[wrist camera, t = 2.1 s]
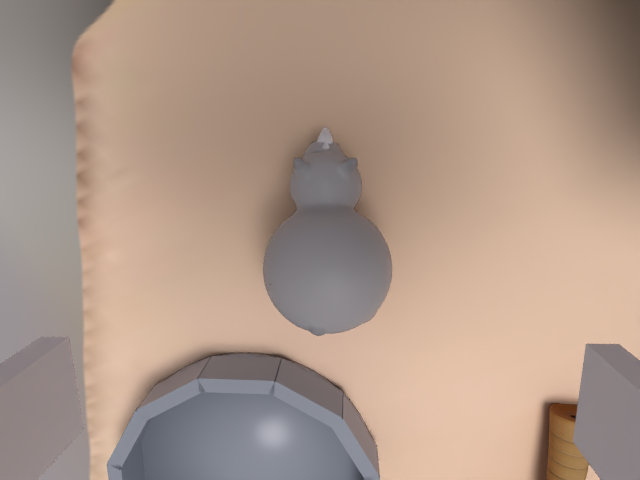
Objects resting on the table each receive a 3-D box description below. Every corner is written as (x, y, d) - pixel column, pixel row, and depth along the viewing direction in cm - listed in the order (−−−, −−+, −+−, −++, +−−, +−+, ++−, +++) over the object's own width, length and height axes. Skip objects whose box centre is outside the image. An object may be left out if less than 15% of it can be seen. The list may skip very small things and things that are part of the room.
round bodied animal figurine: (382, 156, 31) (398, 99, 22) (383, 331, 29) (401, 341, 20) (279, 156, 31) (258, 100, 23) (274, 329, 29) (248, 338, 21)
